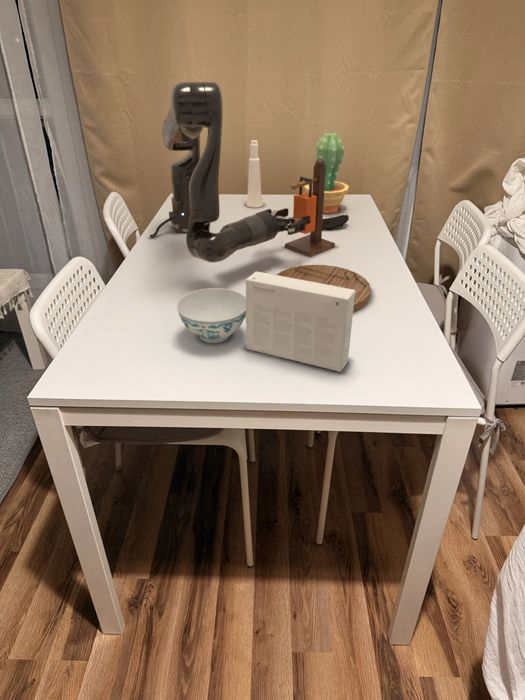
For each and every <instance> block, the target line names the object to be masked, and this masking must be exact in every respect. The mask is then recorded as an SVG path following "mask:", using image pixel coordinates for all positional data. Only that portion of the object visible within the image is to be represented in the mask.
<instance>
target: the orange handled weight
mask: <svg viewBox="0 0 525 700" xmlns="http://www.w3.org/2000/svg"><path fill="white" fill-rule="evenodd" d="M312 179H313V178H309V177H305V176H299V182H303V181H308V182H309V194H307V192H305V191H304V192H303V186H302V187H298V193H297V194H294V195H293V211H292V213H293V214H292V217H293V218H294V219H295V218H301V217H304V216H307V215H309V216H311V221H310V224H307V225H305V231H302V232H300V233H301V234H303V235H308V234H310V232H313V231H315V219H316V201H317V196H314V195H312ZM294 223H296V222H294Z"/></svg>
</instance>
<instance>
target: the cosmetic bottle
mask: <svg viewBox="0 0 525 700" xmlns="http://www.w3.org/2000/svg"><path fill="white" fill-rule="evenodd" d="M247 178H248V179H247V181H248V182H247V196H246V207H248V208H252V209H253V208H255V209H256V208H257V209H258V208H261V207H263V206H264V202H263V195H262V179H261V159H260V158H259V143H258V140H257V139H251V140H250V144H249V159H248V177H247Z"/></svg>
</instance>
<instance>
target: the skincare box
mask: <svg viewBox="0 0 525 700" xmlns="http://www.w3.org/2000/svg"><path fill="white" fill-rule="evenodd" d="M245 297H246V316H245V328H246V329H245V331H246V332H245V333H246V334H245V337H246V338H245V341H246V342H245V343H246V344H245V349H247V350H249V351H253V352H258V353H261V354H267V355H270V356H274V357H278V358H282V359H286V360H290V361H295V362H298V363H301V364H302V363H303V364H306V365H311V366H313V367H314V366H315V367H318V368H323V369H327V370H331V371H334V372H339V373H341V372H342V371H343V370H344V368H345V367H346V365H347V364H348V361H349V354H350V344H351V337H352V327H353V326H352V324H353V315H354V312H353V308H354V298H355V290H353V289H347V288H342V287H337V286H332V285H327V284H321V283H316V282H311V281H305V280H300V279H294V278H289V277H284V276H278V275H276V274H272V273H268V272H261V271H254V272H253V273H252V274H251V275H250V276H248V277H246V279H245Z"/></svg>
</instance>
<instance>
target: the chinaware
mask: <svg viewBox="0 0 525 700" xmlns="http://www.w3.org/2000/svg"><path fill="white" fill-rule="evenodd" d="M176 310H177V313H178V315H179V316H178V317H179V318H180V320H181V322H182V323H183V325H184V327H185V328H186V329H187V330H188V331H189V332H191V333H192V334H193V335H195V336H197V337H199V339H200V340H201V341H203V342H205V343H210V344H217V343H222V342H225V341H226V340H228V339H229V338H230V337H231V335H232V334H234V333H235V332H236V331H237V330H239V328H240V327H241V326H242V325H243V323H244V321H245V320H246V295H244V294H242V293H241V292H238V291H236V290H233V289H229V288H224V287H223V288H222V287H208V288H202V289H197V290H193V291H191V292H188V293H187V294H184V295H183V296H182V297H180V299H179V300H178V301H177V303H176Z"/></svg>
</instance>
